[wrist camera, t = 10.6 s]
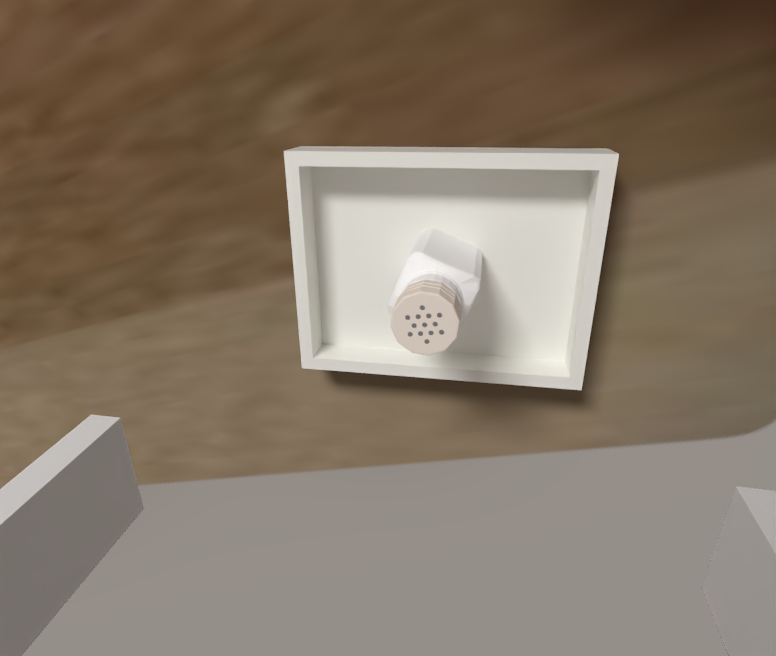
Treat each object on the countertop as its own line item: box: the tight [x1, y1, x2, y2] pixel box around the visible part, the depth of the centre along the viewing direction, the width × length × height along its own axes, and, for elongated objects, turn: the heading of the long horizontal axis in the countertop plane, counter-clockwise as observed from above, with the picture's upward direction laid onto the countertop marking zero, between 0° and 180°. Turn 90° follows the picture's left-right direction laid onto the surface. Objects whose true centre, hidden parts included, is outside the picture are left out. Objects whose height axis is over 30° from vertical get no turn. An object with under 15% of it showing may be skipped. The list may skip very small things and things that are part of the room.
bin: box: [284, 146, 619, 390], centre depth 32 cm, size 14×18×3 cm
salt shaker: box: [388, 228, 482, 356], centre depth 28 cm, size 4×4×10 cm
